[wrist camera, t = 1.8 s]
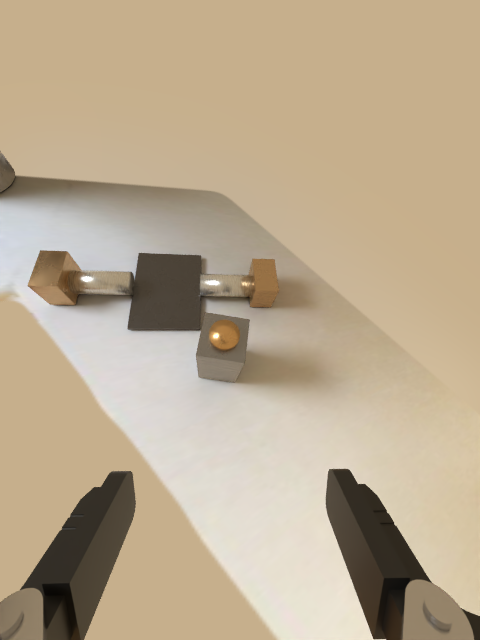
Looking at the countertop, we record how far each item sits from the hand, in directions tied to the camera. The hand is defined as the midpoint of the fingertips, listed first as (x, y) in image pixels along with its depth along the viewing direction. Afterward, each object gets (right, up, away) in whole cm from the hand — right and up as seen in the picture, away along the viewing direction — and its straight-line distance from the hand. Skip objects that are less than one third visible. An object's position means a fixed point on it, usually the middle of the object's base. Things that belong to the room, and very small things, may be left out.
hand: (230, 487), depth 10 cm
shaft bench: (-10, +11, +24) cm, 28 cm away
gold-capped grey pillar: (-2, +1, +21) cm, 21 cm away
